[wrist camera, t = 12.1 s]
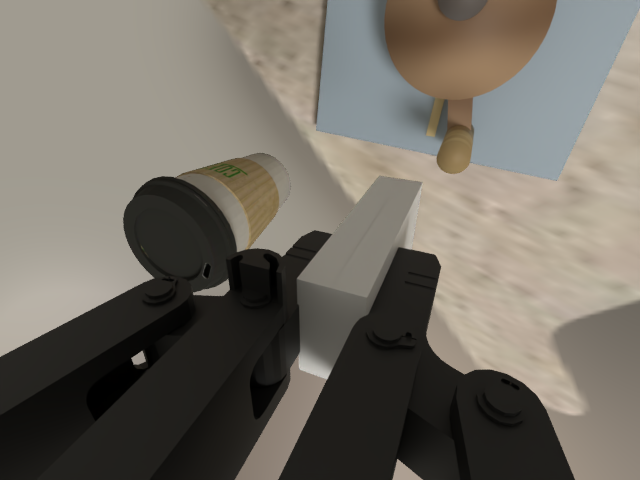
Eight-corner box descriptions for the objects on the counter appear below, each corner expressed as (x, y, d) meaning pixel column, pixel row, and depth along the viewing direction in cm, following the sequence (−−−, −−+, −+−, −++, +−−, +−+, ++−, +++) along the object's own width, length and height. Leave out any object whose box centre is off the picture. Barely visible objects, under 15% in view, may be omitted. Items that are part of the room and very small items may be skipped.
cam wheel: (389, -57, 24) (359, -84, 19) (565, -103, 20) (594, -154, 15) (396, 148, 30) (375, 174, 25) (532, 143, 27) (544, 173, 21)
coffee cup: (237, 118, 37) (118, 160, 25) (319, 164, 36) (235, 231, 24) (219, 194, 43) (114, 258, 31) (289, 236, 42) (209, 319, 30)
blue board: (728, -199, 18) (769, -238, 16) (554, 174, 29) (560, 189, 26) (352, -182, 24) (335, -210, 21) (322, 127, 34) (308, 135, 32)
